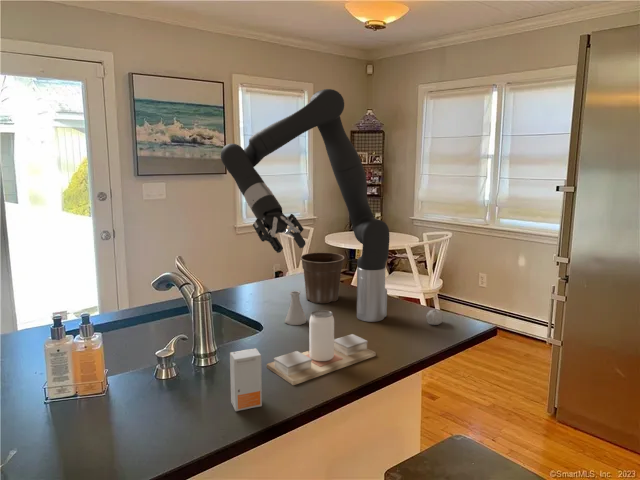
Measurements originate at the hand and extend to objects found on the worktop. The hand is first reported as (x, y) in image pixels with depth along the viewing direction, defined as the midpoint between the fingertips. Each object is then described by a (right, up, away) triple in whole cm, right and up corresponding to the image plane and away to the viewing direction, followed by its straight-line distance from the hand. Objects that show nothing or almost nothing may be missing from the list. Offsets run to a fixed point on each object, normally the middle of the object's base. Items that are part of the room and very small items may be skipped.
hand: (292, 248), depth 128 cm
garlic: (+44, -25, +25) cm, 57 cm away
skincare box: (-8, -34, -23) cm, 42 cm away
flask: (0, -25, +27) cm, 37 cm away
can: (+8, -29, -2) cm, 30 cm away
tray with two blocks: (+8, -30, -2) cm, 31 cm away
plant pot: (+8, -20, +52) cm, 56 cm away
